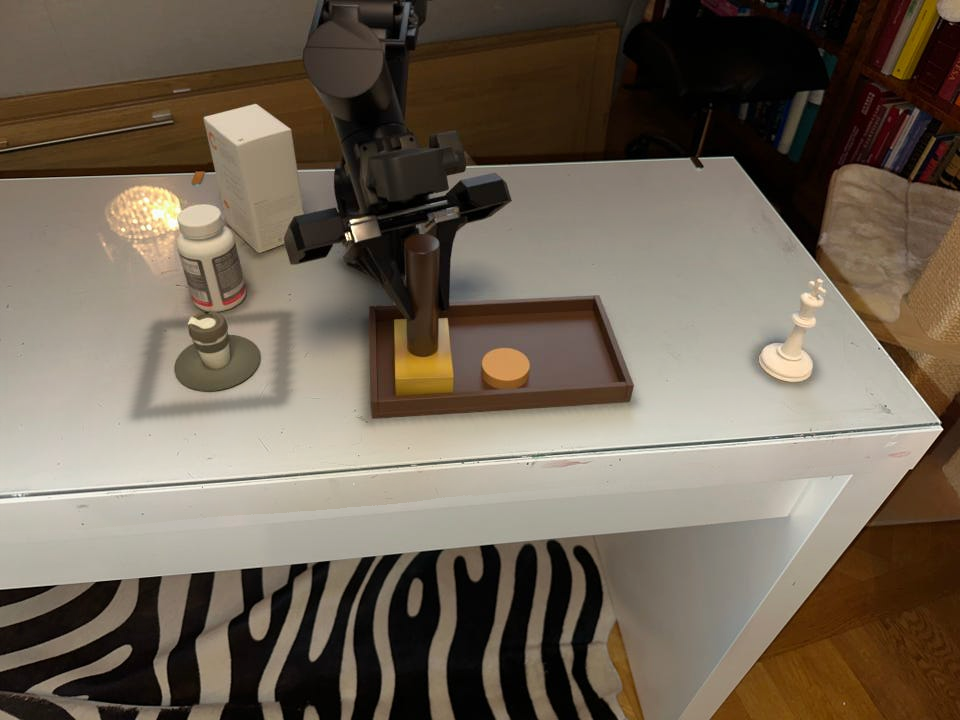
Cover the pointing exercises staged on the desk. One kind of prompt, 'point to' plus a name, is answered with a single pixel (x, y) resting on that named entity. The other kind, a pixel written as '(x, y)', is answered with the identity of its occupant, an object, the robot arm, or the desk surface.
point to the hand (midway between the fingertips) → (428, 315)
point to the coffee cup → (215, 355)
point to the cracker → (505, 368)
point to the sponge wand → (422, 325)
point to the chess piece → (795, 341)
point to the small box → (255, 174)
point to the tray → (516, 325)
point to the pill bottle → (209, 259)
